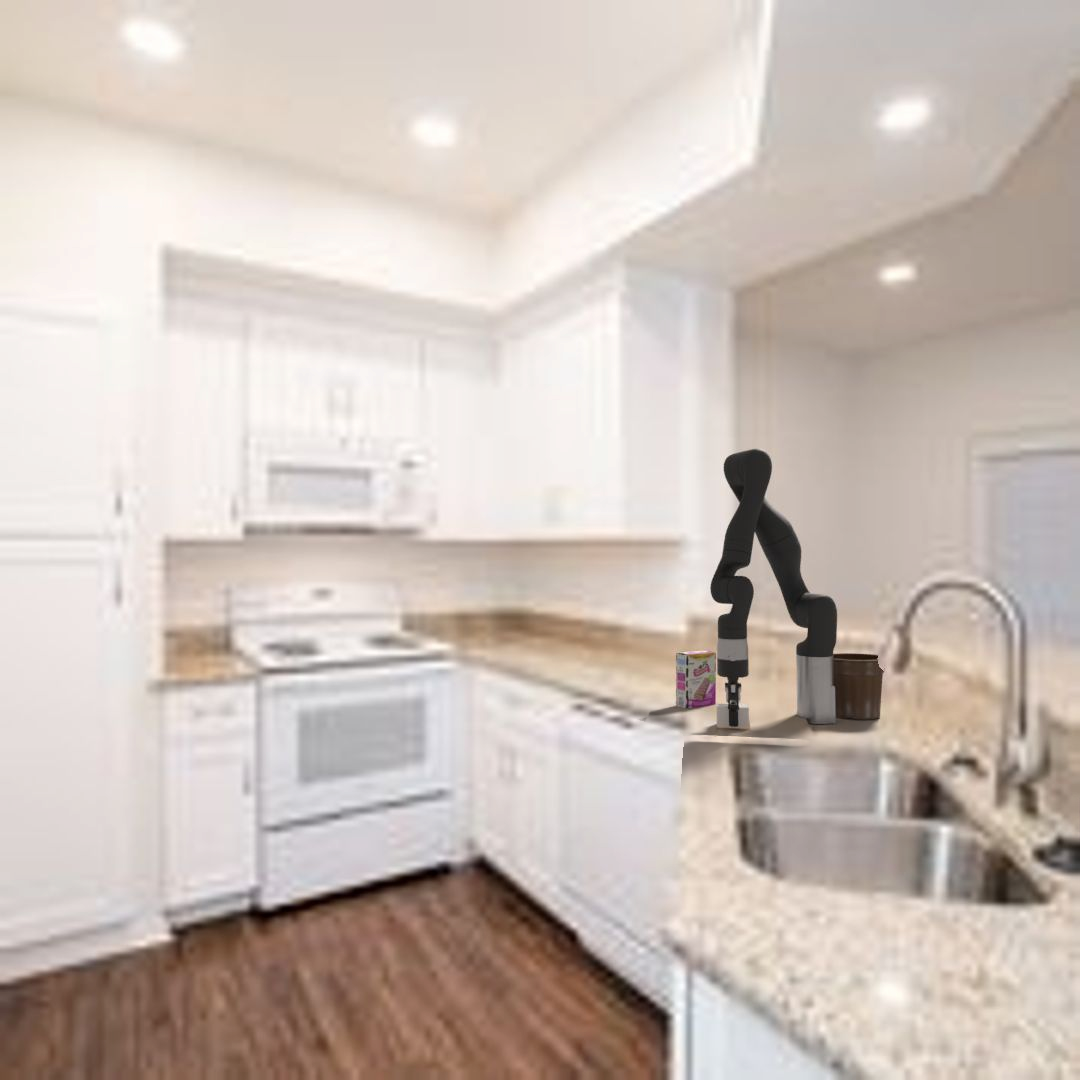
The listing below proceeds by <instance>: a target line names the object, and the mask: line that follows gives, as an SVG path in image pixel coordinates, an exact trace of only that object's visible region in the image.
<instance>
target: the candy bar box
mask: <svg viewBox="0 0 1080 1080" xmlns="http://www.w3.org/2000/svg"><path fill="white" fill-rule="evenodd" d="M675 655H676V657H675V663H676V664H675V669H676V670H675V671H676V672H675V676H676V677H675V706H676V707H678V708H683V709H693V708H700V707H707V706H713V705H717V703H716V702H717V700H716V699H717V698H716V697H717V696H716V694H717V692H716V690H717V689H716V686H717V685H716V684H717V683H716V681H717V680H716V679H717V677H716V676H717V673H716V671H717V666H716V665H717V651H710V650H695V651H682V652H681V651H680V652H676V653H675Z"/></svg>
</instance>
